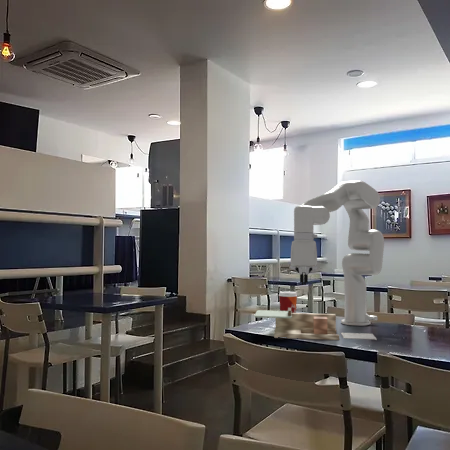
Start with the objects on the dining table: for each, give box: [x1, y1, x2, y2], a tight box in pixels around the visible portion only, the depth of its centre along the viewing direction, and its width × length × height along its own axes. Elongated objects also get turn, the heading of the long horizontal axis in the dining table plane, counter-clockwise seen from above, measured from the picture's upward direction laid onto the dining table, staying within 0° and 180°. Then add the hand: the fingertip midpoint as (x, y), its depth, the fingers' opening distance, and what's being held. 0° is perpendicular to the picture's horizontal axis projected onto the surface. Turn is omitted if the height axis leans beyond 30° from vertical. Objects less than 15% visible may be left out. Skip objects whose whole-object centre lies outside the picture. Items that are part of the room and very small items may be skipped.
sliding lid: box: [254, 308, 291, 319], centre depth 185 cm, size 14×15×3 cm
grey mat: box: [340, 332, 378, 341], centre depth 181 cm, size 12×10×1 cm
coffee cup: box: [278, 291, 298, 313], centre depth 202 cm, size 8×8×15 cm
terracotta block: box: [313, 317, 327, 334], centre depth 181 cm, size 5×5×7 cm
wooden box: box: [273, 312, 340, 341], centre depth 184 cm, size 24×16×8 cm, turn 82°
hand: (303, 284), depth 183 cm, fingers closed
